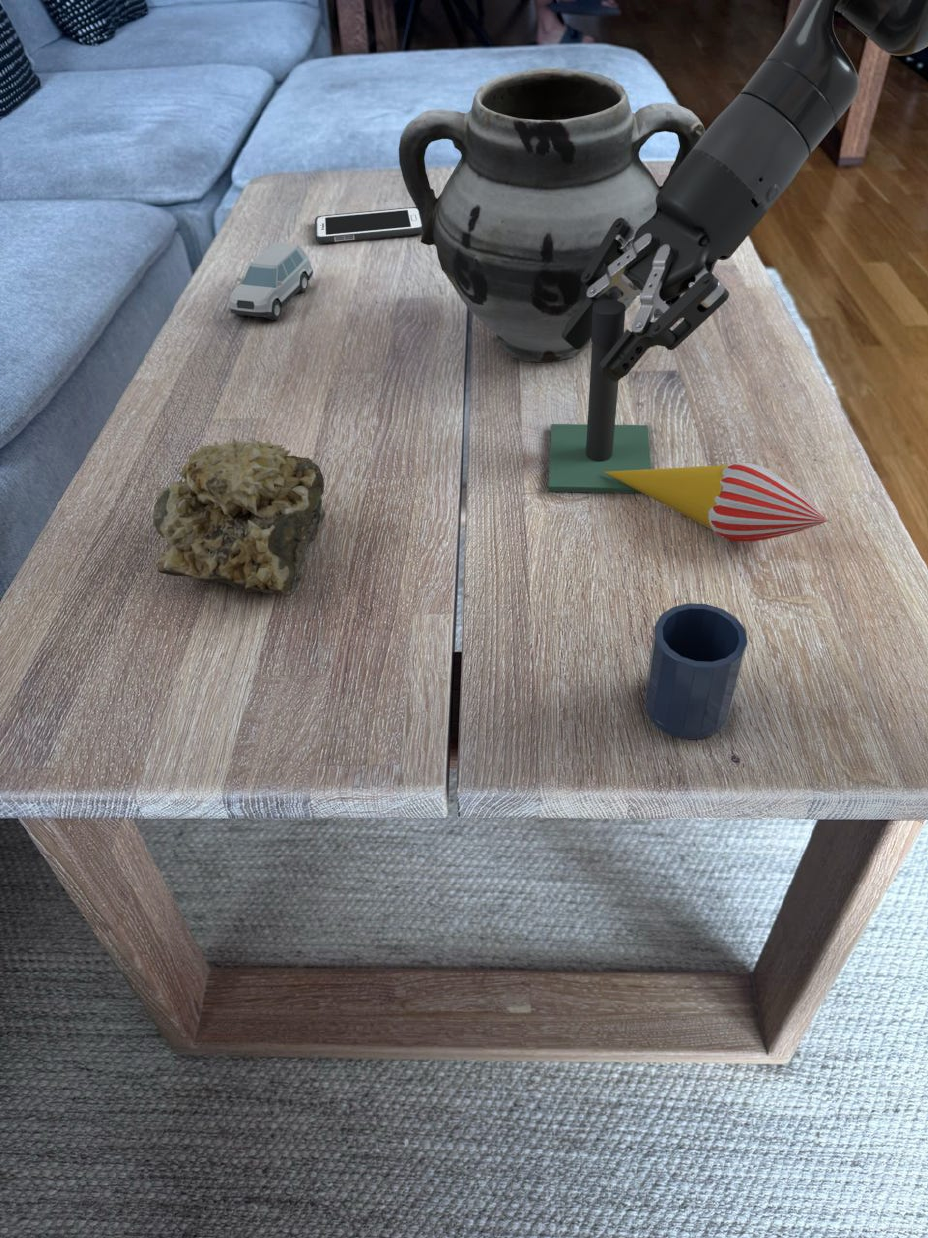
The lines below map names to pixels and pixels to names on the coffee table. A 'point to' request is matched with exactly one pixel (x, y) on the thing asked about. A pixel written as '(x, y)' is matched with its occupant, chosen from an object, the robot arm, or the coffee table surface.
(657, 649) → the pen cup
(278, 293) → the toy car
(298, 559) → the mineral specimen
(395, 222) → the cell phone
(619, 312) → the cylinder
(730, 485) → the ice cream cone
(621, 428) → the felt pad
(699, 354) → the coffee table surface
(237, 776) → the coffee table surface
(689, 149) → the ceramic pot
